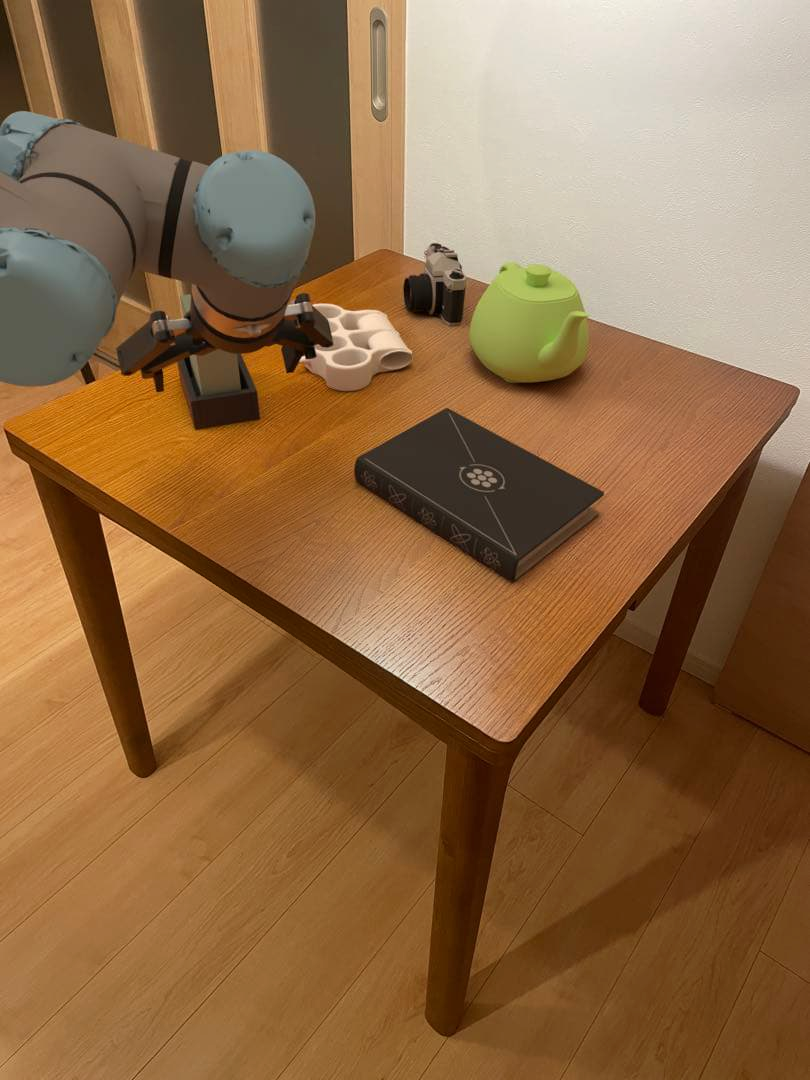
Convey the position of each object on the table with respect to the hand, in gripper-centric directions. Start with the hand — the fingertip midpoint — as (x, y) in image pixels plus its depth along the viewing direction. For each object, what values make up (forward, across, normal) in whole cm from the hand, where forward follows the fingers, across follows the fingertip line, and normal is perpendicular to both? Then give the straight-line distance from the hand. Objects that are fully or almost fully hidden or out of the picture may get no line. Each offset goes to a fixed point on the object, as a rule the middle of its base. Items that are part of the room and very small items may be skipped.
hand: (223, 369), depth 84 cm
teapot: (+11, +40, -3) cm, 42 cm away
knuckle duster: (+18, +18, +4) cm, 26 cm away
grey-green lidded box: (+13, 0, +1) cm, 13 cm away
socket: (+14, 0, 0) cm, 14 cm away
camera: (+25, +34, +11) cm, 44 cm away
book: (-5, +22, -19) cm, 30 cm away
